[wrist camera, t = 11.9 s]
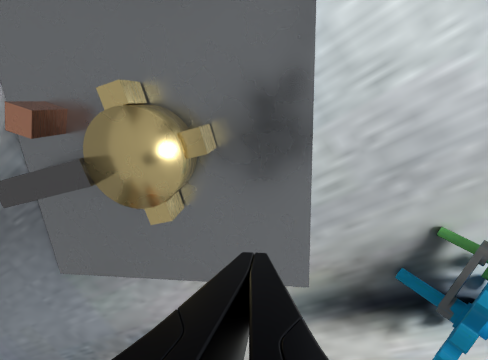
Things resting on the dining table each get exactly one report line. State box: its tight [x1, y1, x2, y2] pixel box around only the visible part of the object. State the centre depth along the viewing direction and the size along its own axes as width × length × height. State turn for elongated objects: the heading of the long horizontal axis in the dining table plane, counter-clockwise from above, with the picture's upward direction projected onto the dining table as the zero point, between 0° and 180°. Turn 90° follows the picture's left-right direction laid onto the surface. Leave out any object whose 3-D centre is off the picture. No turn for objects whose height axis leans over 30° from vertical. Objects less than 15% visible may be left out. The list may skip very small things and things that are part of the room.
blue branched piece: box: [395, 227, 488, 360], centre depth 19 cm, size 11×6×10 cm
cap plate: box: [0, 0, 316, 287], centre depth 19 cm, size 24×24×4 cm
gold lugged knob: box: [0, 79, 217, 225], centre depth 19 cm, size 16×10×3 cm, turn 105°
